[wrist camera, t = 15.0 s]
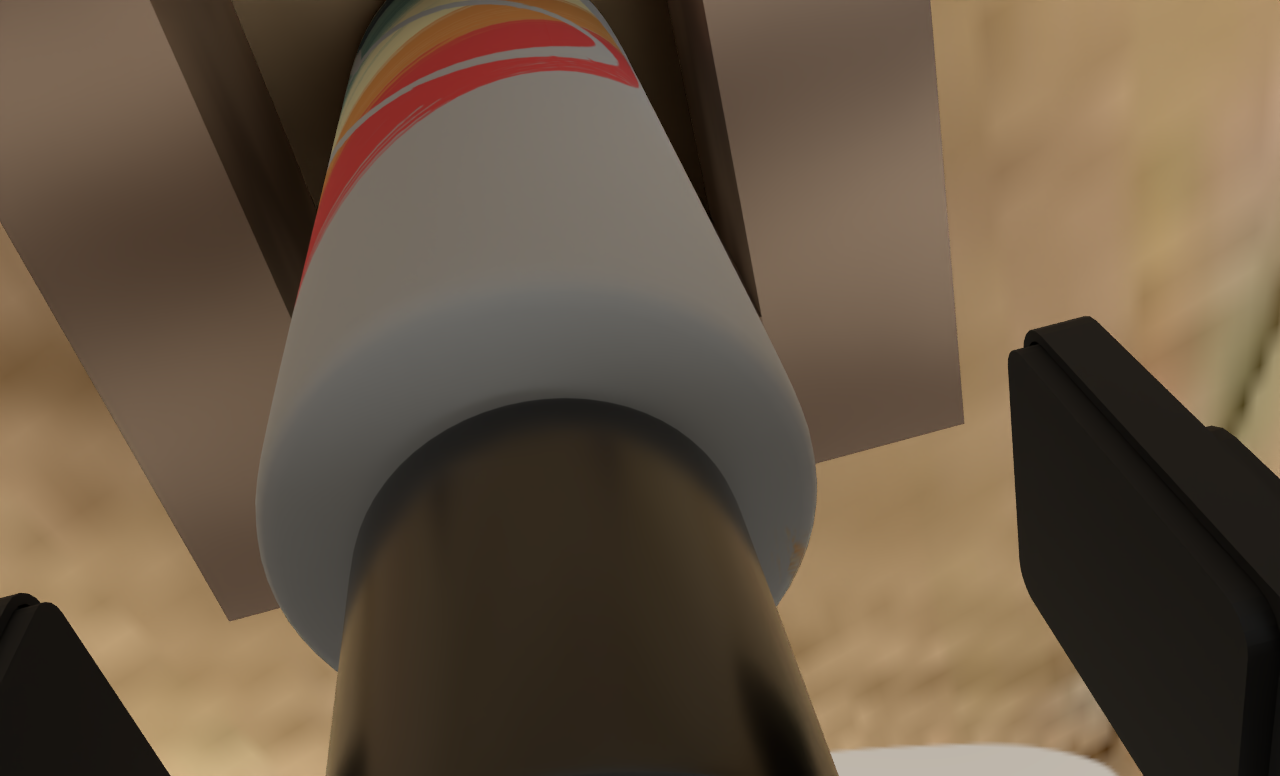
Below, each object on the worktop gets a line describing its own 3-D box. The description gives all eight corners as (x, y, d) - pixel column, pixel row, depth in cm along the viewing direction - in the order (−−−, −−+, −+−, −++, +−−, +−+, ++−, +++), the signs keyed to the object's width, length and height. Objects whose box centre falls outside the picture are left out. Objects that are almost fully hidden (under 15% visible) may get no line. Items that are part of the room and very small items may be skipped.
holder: (886, 314, 28) (963, 423, 24) (261, 482, 28) (229, 621, 24) (794, -473, 20) (888, -517, 16) (-103, -237, 20) (-251, -218, 16)
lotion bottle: (365, -78, 22) (118, 672, 5) (650, -23, 23) (1193, 719, 6) (342, 197, 25) (128, 1273, 8) (597, 233, 26) (884, 1222, 9)
